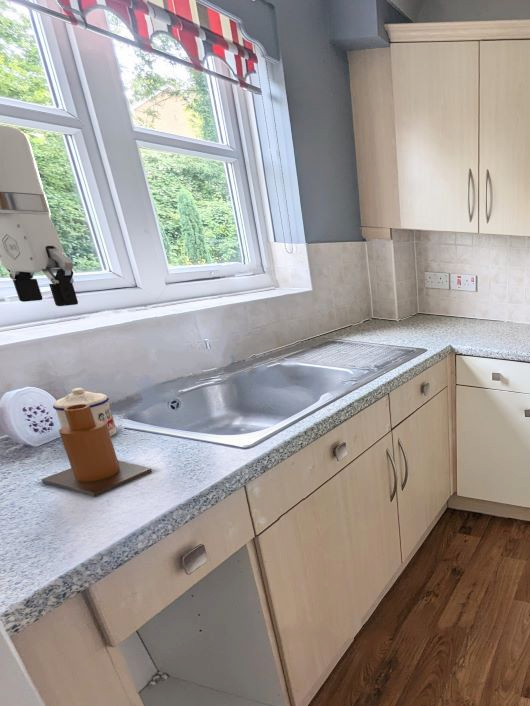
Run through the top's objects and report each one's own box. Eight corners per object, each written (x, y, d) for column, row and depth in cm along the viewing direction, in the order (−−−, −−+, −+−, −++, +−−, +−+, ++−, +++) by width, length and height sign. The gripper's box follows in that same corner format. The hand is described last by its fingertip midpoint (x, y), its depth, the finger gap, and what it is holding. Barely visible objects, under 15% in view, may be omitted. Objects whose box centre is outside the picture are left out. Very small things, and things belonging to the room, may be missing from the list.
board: (42, 482, 86) (41, 479, 86) (102, 459, 95) (101, 456, 95) (95, 497, 82) (93, 493, 82) (152, 471, 91) (151, 468, 91)
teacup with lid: (108, 442, 102) (94, 393, 98) (56, 447, 99) (38, 397, 95) (129, 422, 113) (117, 377, 109) (82, 426, 109) (68, 380, 105)
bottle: (66, 478, 86) (43, 410, 81) (104, 463, 92) (84, 399, 87) (90, 484, 85) (68, 415, 80) (128, 468, 90) (108, 403, 86)
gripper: (-44, 201, 78) (-8, 301, 84) (23, 205, 74) (56, 309, 80) (13, 205, 85) (43, 297, 91) (78, 208, 81) (104, 304, 87)
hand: (49, 303), depth 85 cm, fingers open, 9 cm apart
